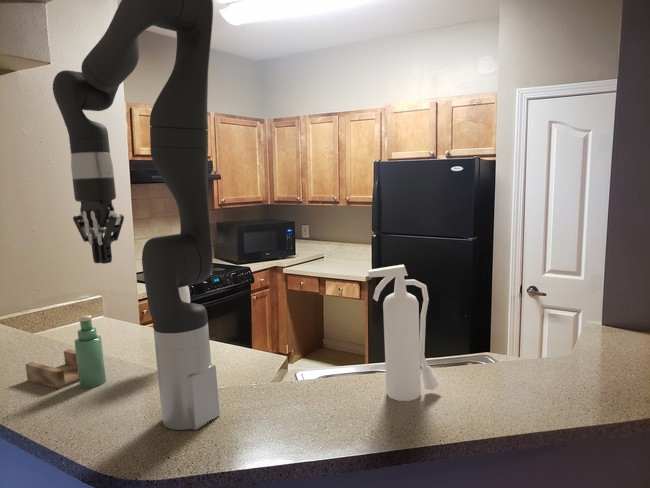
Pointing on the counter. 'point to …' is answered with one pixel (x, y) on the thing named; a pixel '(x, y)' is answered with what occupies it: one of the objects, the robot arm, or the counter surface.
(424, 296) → the fire extinguisher
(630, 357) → the counter surface
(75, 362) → the brown wooden u-shaped block
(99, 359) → the bottle
